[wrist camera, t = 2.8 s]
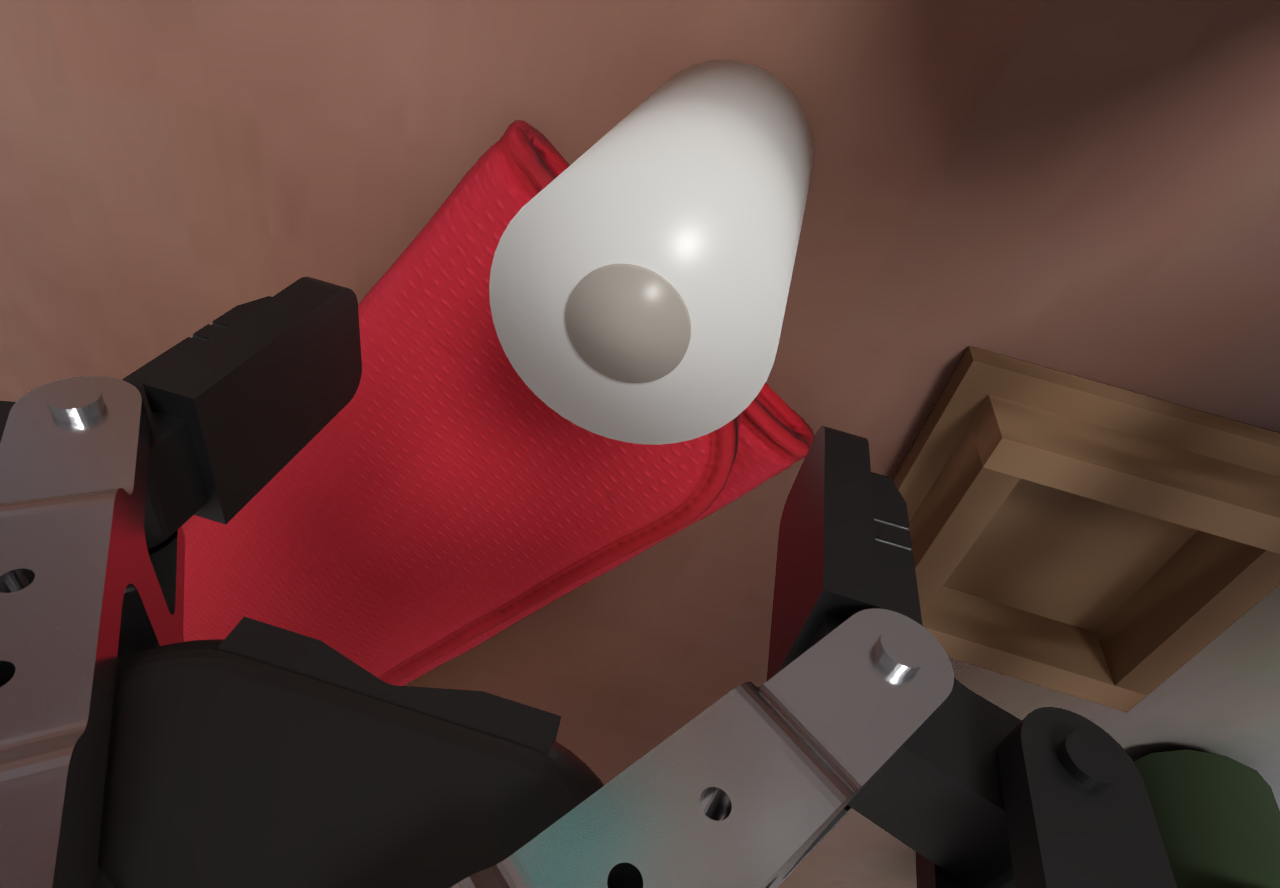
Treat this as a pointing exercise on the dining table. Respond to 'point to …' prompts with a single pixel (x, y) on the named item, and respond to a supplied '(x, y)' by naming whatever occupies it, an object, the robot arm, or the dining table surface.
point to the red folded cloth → (457, 469)
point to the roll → (661, 260)
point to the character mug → (1214, 819)
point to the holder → (1085, 527)
